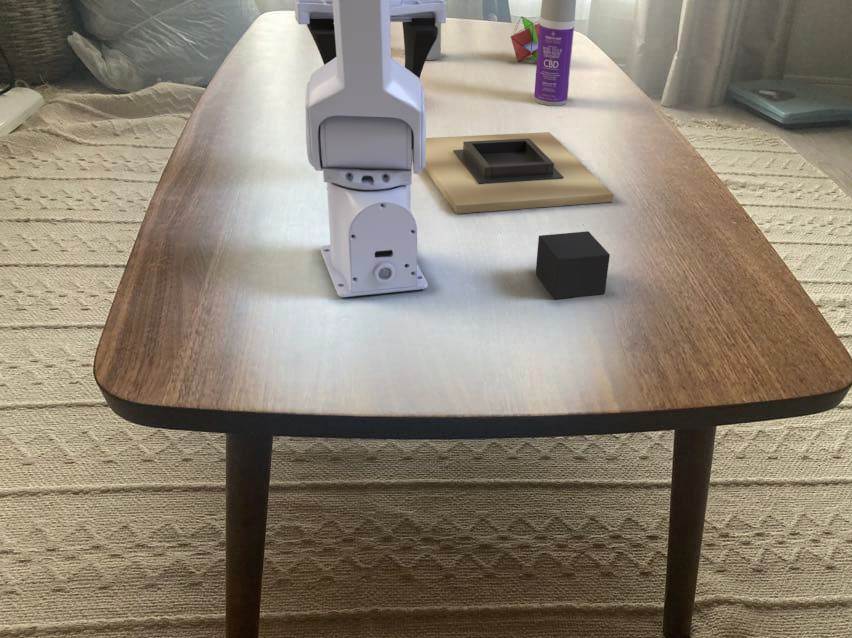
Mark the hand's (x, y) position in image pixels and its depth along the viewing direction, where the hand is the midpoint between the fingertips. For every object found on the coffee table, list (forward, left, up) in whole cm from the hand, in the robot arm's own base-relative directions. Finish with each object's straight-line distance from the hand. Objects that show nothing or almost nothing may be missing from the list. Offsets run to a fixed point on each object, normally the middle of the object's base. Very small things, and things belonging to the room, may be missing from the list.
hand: (373, 96), depth 96 cm
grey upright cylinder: (+49, -19, -10) cm, 54 cm away
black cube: (-26, -13, -10) cm, 30 cm away
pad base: (+1, -16, -10) cm, 18 cm away
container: (+26, -31, -10) cm, 42 cm away
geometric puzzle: (+45, -35, -10) cm, 58 cm away
